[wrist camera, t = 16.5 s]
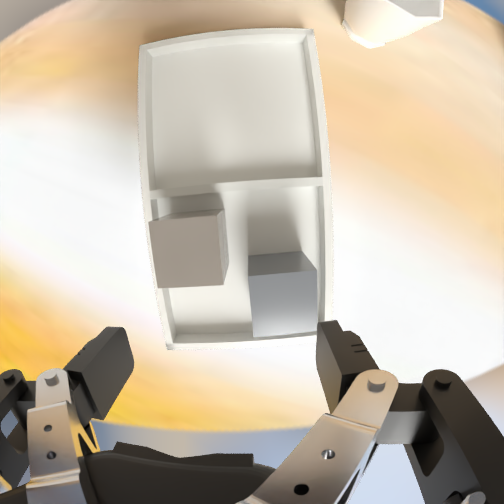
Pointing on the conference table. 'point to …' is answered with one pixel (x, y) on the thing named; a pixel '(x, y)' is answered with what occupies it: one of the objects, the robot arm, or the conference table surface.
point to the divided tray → (237, 167)
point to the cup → (388, 19)
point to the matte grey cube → (282, 293)
